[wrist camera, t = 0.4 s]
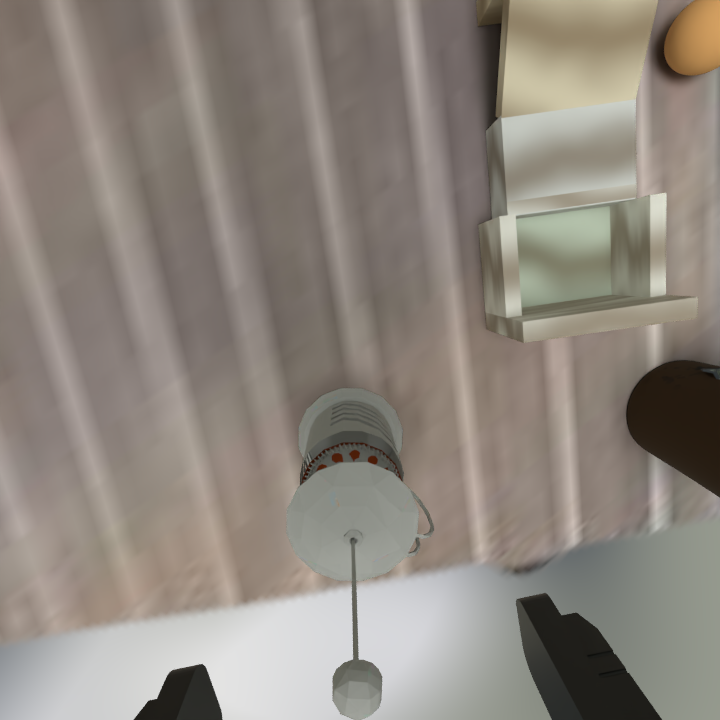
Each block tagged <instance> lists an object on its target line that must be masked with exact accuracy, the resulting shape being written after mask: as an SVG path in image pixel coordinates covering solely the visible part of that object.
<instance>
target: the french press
mask: <svg viewBox="0 0 720 720" xmlns="http://www.w3.org/2000/svg"><path fill="white" fill-rule="evenodd" d="M402 433H403V429H402V426H401V424H400V421H399V418H398V416H397V413H396V411H395V410H394V409H393V408H392V407H391V406H390V405H389V404H388V403H387V402H386V401H385V400H384V398H383V397H382V396H379V395H377V394H375V393H372V392H370V391H367V390H365V389H363V388H340V389H337V390H335V391H332V392H329V393H327V394H324V395H322V396H321V397H319V398H318V399H317V400H316V401H315V402H314V403H313V404H312V405H311V406H310V407H309V408H308V409H307V410H306V412H305V414H304V417H303V419H302V421H301V423H300V426H299V449H300V452H301V454H302V456H303V458H304V459H303V462H304V473H305V474H304V476H303V463H302V468H301V474H300V486H299V487H298V489H297V491H296V493H295V495H294V497H293V499H292V501H291V503H290V505H289V506H288V508H287V536H288V538H289V540H290V542H291V545H292V547H293V549H294V551H295V554H296V555H297V556H298V557H299V558H300V559H301V560H302V561H303V562H304V563H305V564H306V565H307V566H309V567H310V568H311V569H312V570H313V571H314V572H316V573H319V574H322V575H324V576H327V577H329V578H332V579H335V580H337V581H352V611H353V660H351V661H348V662H345V663H343V664H342V665H341V666H340V667H339V668H337V669H336V671H335V673H334V676H333V702H334V703H335V705H336V707H337V708H338V710H339V712H340V714H342V715H344V716H347V717H349V718H351V719H354V720H361V719H364V718H366V717H368V716H370V715H372V714H373V713H374V712H375V711H376V710H377V709H378V708H379V706H380V703H381V694H382V676H381V673H380V671H379V669H378V668H377V667H376V666H375V665H374V664H372V663H371V662H368V661H365V660H359V659H358V628H357V596H356V595H357V593H356V581H364V580H367V579H370V578H373V577H376V576H379V575H382V574H385V573H388V572H389V571H390V570H391V569H392V568H393V567H395V566H396V565H397V564H398V563H399V562H401V561H402V560H403V559H404V558H405V557H411V556H414V555H416V554H417V553H418V551H419V549H420V542H419V538H422V539H425V538H428V537H431V535H432V533H433V531H434V526H433V523H432V520H431V517H430V514H429V512H428V511H427V509H426V508H425V506H424V505H423V503H422V502H421V500H420V499H419V498H418V497H417V496H416V494H415V493H414V492H413V491H412V490H411V489H410V488H409V487H407V486H406V485H405V484H404V483H403V477H404V472H403V468H402V465H401V461H400V458H399V453H400V451H401V449H402ZM305 465H306V468H307V469H305ZM413 497H414V498H415V499H416V500H417V502H418V503H419V505H420V506H421V507H422V509H423V510H424V512H425V514H426V516H427V518H428V521H429V523H430V526H431V527H430V531H429V532H428V533H427V534H424V535H422V534H418V533H417V529H418V517H419V511H418V509H417V506H416V503H415V501H414V498H413ZM415 539H416V544H417V547H416V548H415V550H414V551H413V552H410V553H408V552H409V550H410V548H411V546H412V545H413V543H414V541H415Z"/></svg>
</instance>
